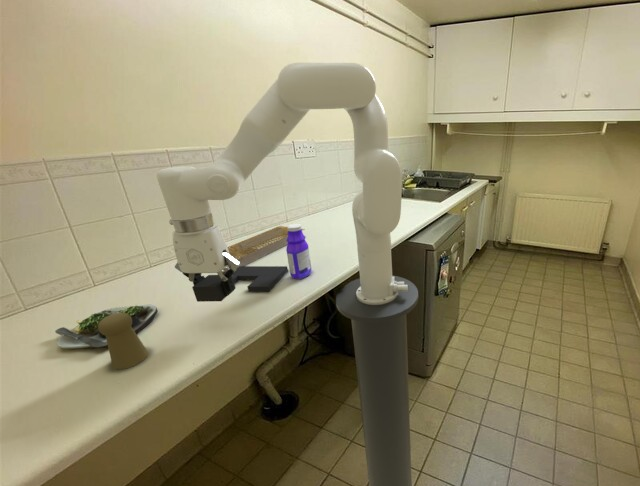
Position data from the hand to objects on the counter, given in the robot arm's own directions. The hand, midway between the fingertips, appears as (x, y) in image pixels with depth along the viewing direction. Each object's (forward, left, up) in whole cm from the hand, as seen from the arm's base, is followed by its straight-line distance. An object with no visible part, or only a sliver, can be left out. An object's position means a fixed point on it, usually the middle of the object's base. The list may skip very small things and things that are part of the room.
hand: (216, 292), depth 76 cm
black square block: (0, 0, -1) cm, 1 cm away
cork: (+13, +13, -9) cm, 21 cm away
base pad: (+6, -23, -9) cm, 26 cm away
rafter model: (+15, -50, -9) cm, 53 cm away
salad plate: (+27, +3, -9) cm, 29 cm away
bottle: (-10, -27, -9) cm, 30 cm away
